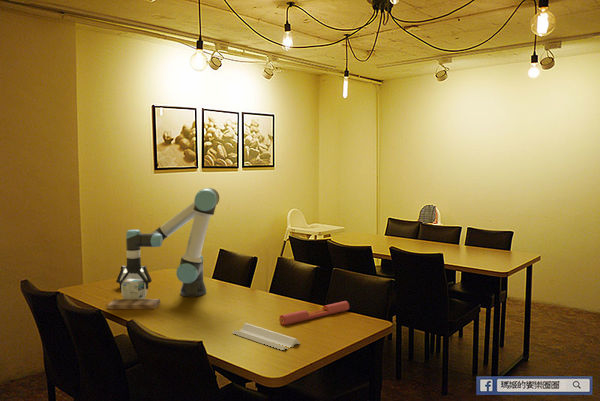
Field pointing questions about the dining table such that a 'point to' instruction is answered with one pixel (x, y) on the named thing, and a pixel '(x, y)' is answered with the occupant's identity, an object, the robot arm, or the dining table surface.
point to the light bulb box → (133, 289)
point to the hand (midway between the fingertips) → (134, 294)
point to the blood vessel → (313, 313)
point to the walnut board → (134, 304)
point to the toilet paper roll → (133, 275)
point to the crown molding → (266, 337)
